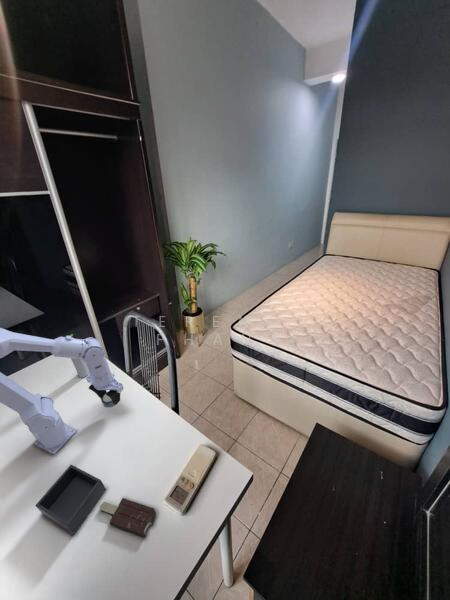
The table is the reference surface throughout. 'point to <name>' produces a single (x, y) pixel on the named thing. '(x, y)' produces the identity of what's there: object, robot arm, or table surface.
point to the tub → (71, 498)
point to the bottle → (80, 366)
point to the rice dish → (107, 401)
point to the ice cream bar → (130, 516)
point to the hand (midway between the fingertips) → (110, 399)
